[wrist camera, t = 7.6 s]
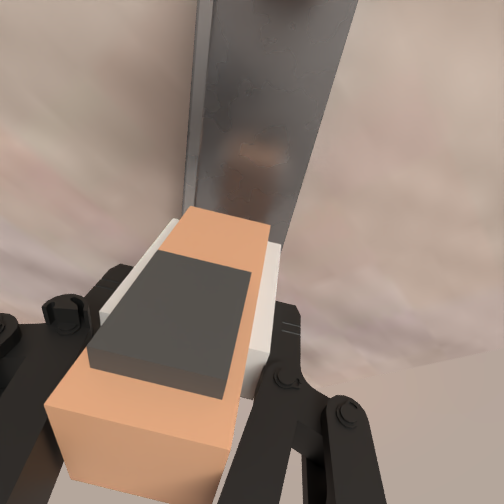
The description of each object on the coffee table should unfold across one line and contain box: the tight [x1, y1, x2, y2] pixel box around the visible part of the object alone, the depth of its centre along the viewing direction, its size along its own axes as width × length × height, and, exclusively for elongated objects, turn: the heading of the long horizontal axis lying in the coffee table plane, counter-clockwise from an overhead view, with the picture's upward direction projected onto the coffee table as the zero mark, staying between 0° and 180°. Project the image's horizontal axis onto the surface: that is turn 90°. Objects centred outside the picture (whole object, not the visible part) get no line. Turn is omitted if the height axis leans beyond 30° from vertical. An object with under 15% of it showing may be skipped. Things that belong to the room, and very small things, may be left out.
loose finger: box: [44, 206, 271, 504], centre depth 12 cm, size 4×8×10 cm, turn 169°
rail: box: [182, 0, 358, 254], centre depth 15 cm, size 7×28×5 cm, turn 168°
